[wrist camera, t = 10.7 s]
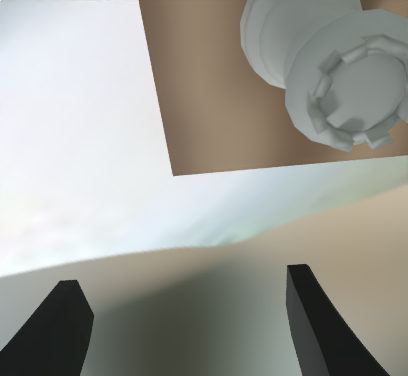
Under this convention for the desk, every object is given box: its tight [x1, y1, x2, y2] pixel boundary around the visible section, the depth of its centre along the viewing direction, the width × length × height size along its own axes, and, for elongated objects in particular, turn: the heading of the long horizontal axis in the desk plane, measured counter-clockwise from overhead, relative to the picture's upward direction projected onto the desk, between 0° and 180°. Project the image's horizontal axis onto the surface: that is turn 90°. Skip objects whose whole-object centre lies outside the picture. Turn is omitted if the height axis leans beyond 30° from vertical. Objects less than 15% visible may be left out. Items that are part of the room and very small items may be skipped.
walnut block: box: [139, 0, 408, 176], centre depth 16 cm, size 12×12×3 cm
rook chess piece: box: [240, 0, 408, 153], centre depth 11 cm, size 4×4×8 cm
